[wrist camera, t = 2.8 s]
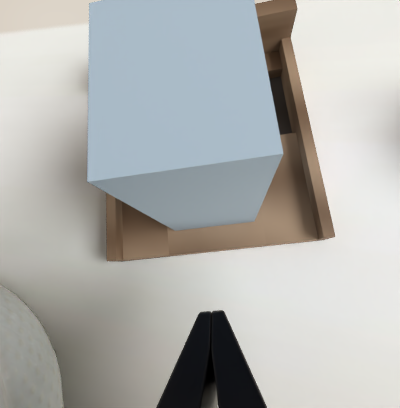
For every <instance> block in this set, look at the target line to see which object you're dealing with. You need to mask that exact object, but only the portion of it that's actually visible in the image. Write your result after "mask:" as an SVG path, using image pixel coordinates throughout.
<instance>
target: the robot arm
mask: <svg viewBox="0 0 400 408" xmlns="http://www.w3.org/2000/svg"><path fill="white" fill-rule="evenodd" d="M217 405H218V407H219V408H267V406H266V404H265V402H264V399H263V397H262V395H261V393H260V390H259V388H258V386H257V384H256V382H255V379H254V377H253V375H252V373H251V370H250V368H249V366H248V364H247V361H246V359H245V357H244V355H243V353H242V350H241V348H240V346H239V344H238V341H237V339H236V337H235V335H234V332H233V330H232V328H231V326H230V323H229V321H228V319H227V317H226V315H225V312H224V311H223V310H219V311H213V312H212V313H211V312H210V311H207V312H200V313H199V314H198V317H197V319H196V321H195V323H194V325H193V328H192V330H191V332H190V334H189V336H188V339H187V341H186V343H185V345H184V348H183V350H182V352H181V354H180V356H179V359H178V361H177V363H176V365H175V367H174V370H173V372H172V374H171V376H170V379H169V381H168V383H167V385H166V387H165V390H164V392H163V394H162V396H161V398H160V401H159V403H158V405H157V407H156V408H217Z"/></svg>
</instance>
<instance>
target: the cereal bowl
mask: <svg viewBox="0 0 400 408" xmlns="http://www.w3.org/2000/svg"><path fill="white" fill-rule="evenodd" d="M63 406H64V403H63V394H62V383H61V375H60V369H59V366H58V362H57V358H56V354H55V351H54V350H53V348H52V345H51V342H50V340H49V338H48V335H47V333H46V332H45V331H44V328H43V326H42V324H41V323H40V322H39V320H38V319H37V317H36V316H35V315H34V313H33V312H32V311H31V310H30V309H29V308H28V307H27V305H26V304H25V303H23V301H22V300H20V299H19V298H18V297H17V296H16V295H15V294H14V293H12V292H11V291H9V290H7V289H6V288H5V287H3V286H2V285H0V408H63Z"/></svg>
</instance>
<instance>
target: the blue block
mask: <svg viewBox="0 0 400 408" xmlns="http://www.w3.org/2000/svg"><path fill="white" fill-rule="evenodd" d="M282 156H283V149H282V143H281V138H280V133H279V128H278V122H277V117H276V112H275V107H274V101H273V96H272V91H271V86H270V81H269V75H268V70H267V65H266V60H265V54H264V49H263V44H262V39H261V33H260V28H259V23H258V18H257V13H256V7H255V2H254V0H101V1H97V2H92V3H89V73H88V163H87V182H88V183H90V184H92V185H94V186H96V187H97V188H99V189H101V190H103V191H105V192H106V193H108V194H110V195H112V196H114V197H115V198H117V199H119V200H121V201H123V202H124V203H126V204H128V205H130V206H131V207H133V208H135V209H137V210H139V211H140V212H142V213H144V214H146V215H148V216H149V217H151V218H153V219H155V220H157V221H158V222H160V223H162V224H164V225H166V226H167V227H169V228H171V229H173V230H174V231H178V230H187V229H195V228H204V227H212V226H221V225H229V224H238V223H246V222H254V221H255V219H256V217H257V214H258V212H259V210H260V207H261V205H262V203H263V200H264V198H265V196H266V193H267V191H268V189H269V186H270V184H271V182H272V179H273V177H274V175H275V172H276V170H277V168H278V165H279V163H280V161H281V158H282Z"/></svg>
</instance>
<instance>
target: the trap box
mask: <svg viewBox="0 0 400 408" xmlns="http://www.w3.org/2000/svg"><path fill="white" fill-rule="evenodd" d="M255 7H256V13H257V18H258V23H259V28H260V33H261V39H262V44H263V49H264V54H265V60H266V65H267V70H268V75H269V81H270V86H271V91H272V96H273V101H274V107H275V112H276V117H277V122H278V128H279V133H280V138H281V143H282V149H283V156H282V158H281V161H280V163H279V165H278V168H277V170H276V172H275V175H274V177H273V179H272V182H271V184H270V186H269V189H268V191H267V193H266V196H265V198H264V200H263V203H262V205H261V207H260V210H259V212H258V214H257V217H256V219H255V221H254V222H246V223H238V224H229V225H221V226H212V227H204V228H195V229H187V230H178V231H174V230H173V229H171V228H169V227H167V226H166V225H164V224H162V223H160V222H158V221H157V220H155V219H153V218H151V217H149V216H148V215H146V214H144V213H142V212H140V211H139V210H137V209H135V208H133V207H131V206H130V205H128V204H126V203H124V202H123V201H121V200H119V199H117V198H115V197H114V196H112V195H110V194H108V193H106V223H107V261H130V260H140V259H149V258H159V257H168V256H177V255H187V254H196V253H206V252H215V251H224V250H234V249H243V248H253V247H262V246H271V245H281V244H290V243H300V242H309V241H319V240H325V239H329V238H332V237H335V233H334V228H333V224H332V219H331V215H330V210H329V206H328V202H327V197H326V193H325V188H324V184H323V179H322V175H321V171H320V166H319V162H318V157H317V153H316V148H315V144H314V139H313V135H312V131H311V126H310V122H309V117H308V113H307V108H306V104H305V100H304V95H303V91H302V86H301V82H300V77H299V73H298V68H297V64H296V60H295V55H294V51H293V46H292V42H291V33H292V29H293V25H294V20H295V16H296V12H297V5H296V1H295V0H272V1H267V2H262V3H257V4H255Z"/></svg>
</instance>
